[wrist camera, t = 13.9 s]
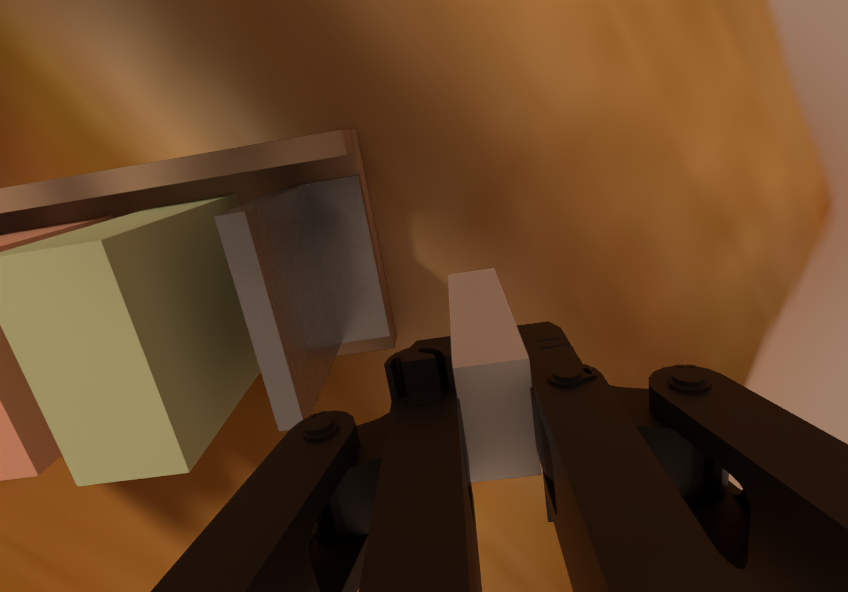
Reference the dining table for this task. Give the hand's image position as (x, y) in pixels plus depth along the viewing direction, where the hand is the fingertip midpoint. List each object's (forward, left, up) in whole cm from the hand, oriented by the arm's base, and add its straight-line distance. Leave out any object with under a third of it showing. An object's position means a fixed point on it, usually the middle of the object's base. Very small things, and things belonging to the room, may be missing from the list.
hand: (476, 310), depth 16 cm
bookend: (-6, 0, -8) cm, 10 cm away
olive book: (-12, 0, -8) cm, 15 cm away
